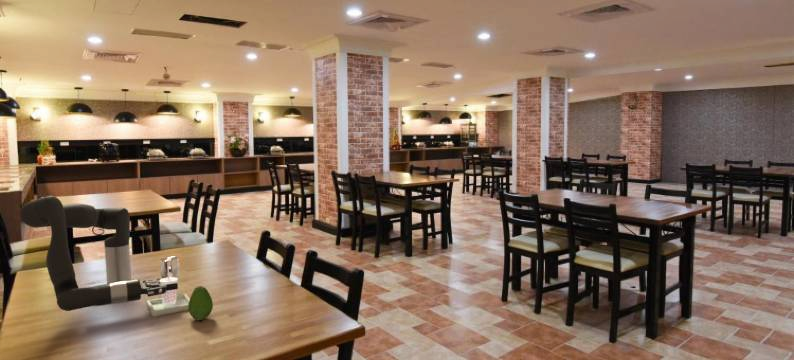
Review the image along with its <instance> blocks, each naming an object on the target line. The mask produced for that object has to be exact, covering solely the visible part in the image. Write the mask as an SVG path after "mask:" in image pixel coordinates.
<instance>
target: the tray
mask: <svg viewBox="0 0 794 360" xmlns="http://www.w3.org/2000/svg"><path fill="white" fill-rule="evenodd" d="M190 298H191V297H189V295H188V294H187V293H182V294H179V295H176V303H175V304H172V305H163V302H162V297H159V298H154V299H153V298H152V299H149V300H148V299H146V300H145V301H146V307H147V310H148V311H149V313H150V315H151V318H155V317H156V318H157V317H159V316H160V317H161V316H165V315H171V314H177V313H179V312H180V313H181V312H185V311H189V310H188V304H189V301H190Z"/></svg>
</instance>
